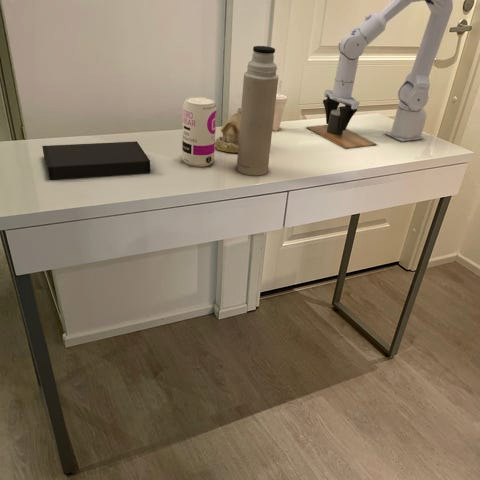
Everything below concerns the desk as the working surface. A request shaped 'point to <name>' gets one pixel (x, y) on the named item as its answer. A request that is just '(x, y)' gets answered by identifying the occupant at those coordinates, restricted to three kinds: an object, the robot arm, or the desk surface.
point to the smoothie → (279, 109)
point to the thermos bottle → (257, 112)
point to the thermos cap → (334, 122)
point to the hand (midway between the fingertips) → (335, 127)
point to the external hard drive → (95, 160)
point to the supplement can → (198, 131)
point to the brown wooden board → (342, 137)
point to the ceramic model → (230, 134)
